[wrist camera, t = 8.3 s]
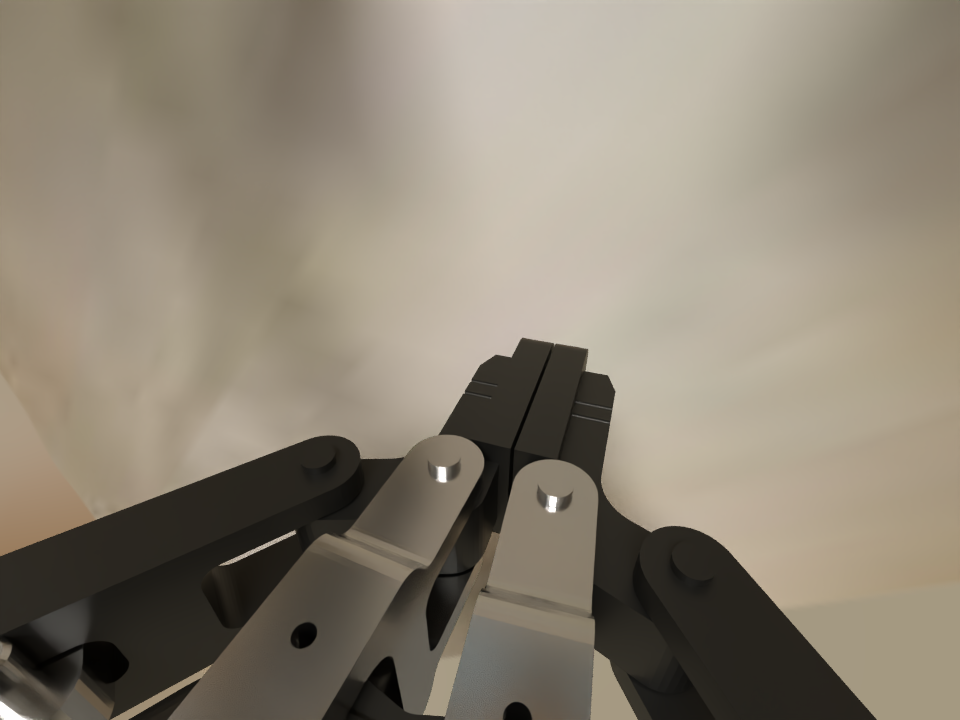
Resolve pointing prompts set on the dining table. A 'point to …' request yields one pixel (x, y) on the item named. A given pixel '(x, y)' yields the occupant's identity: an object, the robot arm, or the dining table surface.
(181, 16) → the dining table surface
